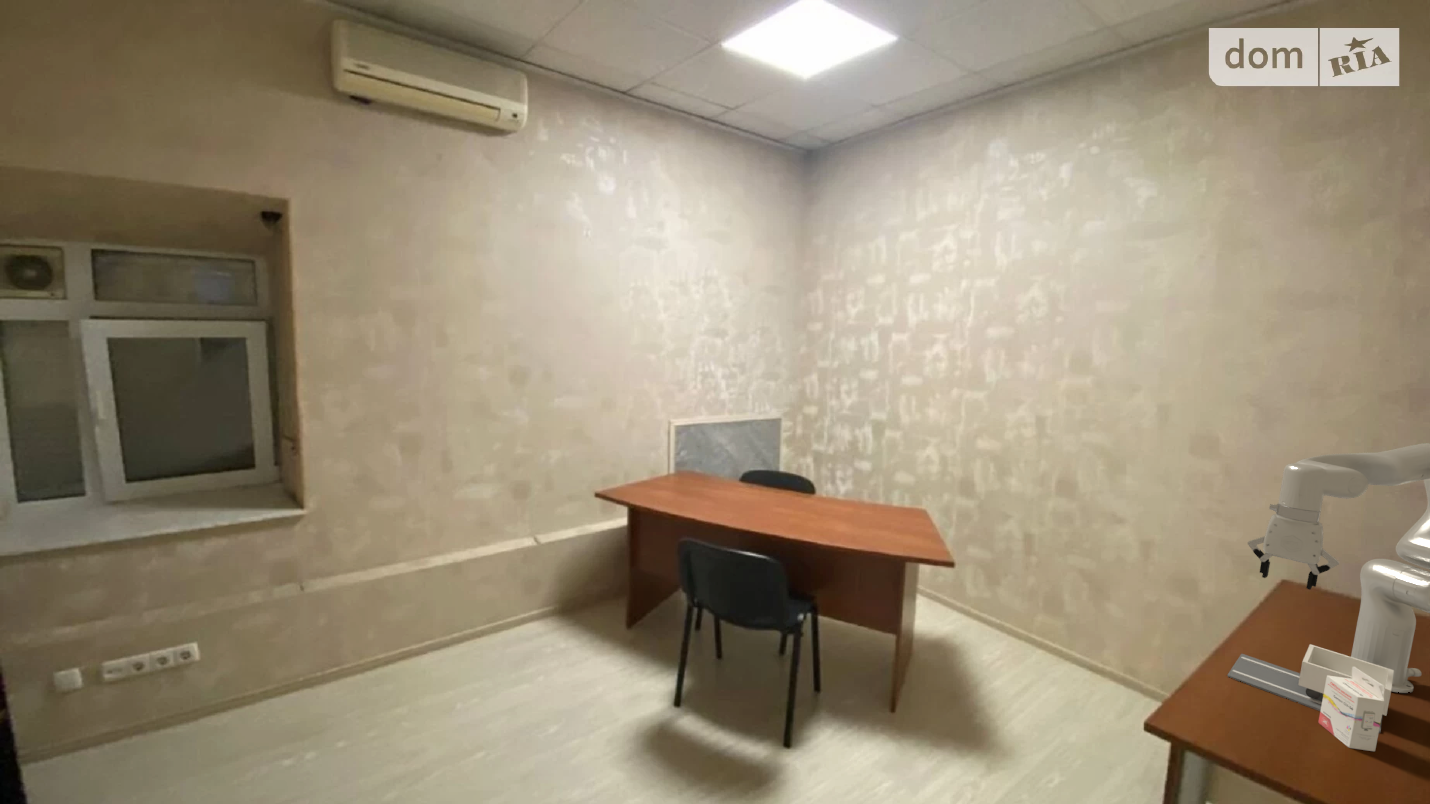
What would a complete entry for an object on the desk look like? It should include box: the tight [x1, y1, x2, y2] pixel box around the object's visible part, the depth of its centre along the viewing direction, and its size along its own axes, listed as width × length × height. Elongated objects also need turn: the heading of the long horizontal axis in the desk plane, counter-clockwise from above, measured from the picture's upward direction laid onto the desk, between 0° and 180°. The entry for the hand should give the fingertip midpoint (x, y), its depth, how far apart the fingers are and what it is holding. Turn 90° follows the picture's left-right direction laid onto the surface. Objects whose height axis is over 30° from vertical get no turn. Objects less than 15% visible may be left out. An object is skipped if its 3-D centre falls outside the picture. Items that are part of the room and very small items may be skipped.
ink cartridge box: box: [1318, 667, 1385, 752], centre depth 126 cm, size 9×5×15 cm, turn 168°
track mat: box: [1226, 653, 1384, 734], centre depth 145 cm, size 18×26×1 cm
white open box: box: [1298, 643, 1394, 717], centre depth 139 cm, size 14×14×8 cm
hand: (1286, 581), depth 146 cm, fingers open, 7 cm apart
